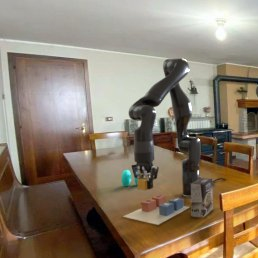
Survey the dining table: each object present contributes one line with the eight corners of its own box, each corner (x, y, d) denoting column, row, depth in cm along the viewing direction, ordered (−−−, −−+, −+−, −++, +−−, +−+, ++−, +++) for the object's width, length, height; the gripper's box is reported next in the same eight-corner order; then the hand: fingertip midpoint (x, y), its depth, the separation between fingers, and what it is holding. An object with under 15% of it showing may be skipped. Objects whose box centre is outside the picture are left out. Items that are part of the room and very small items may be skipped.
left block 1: (149, 207, 121) (149, 198, 120) (156, 208, 119) (155, 199, 119) (141, 210, 117) (141, 201, 116) (148, 212, 115) (148, 203, 115)
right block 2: (176, 205, 123) (176, 197, 122) (183, 207, 121) (183, 198, 121) (169, 209, 119) (169, 200, 118) (176, 210, 117) (176, 201, 117)
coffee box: (203, 218, 111) (203, 184, 109) (190, 217, 112) (190, 183, 110) (213, 210, 120) (212, 178, 118) (201, 209, 121) (200, 177, 119)
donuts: (140, 187, 150) (139, 171, 149) (121, 188, 147) (120, 172, 146) (144, 182, 159) (143, 167, 158) (126, 183, 156) (125, 168, 155)
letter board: (157, 201, 129) (157, 200, 128) (189, 208, 122) (189, 207, 122) (122, 217, 111) (122, 216, 111) (158, 226, 104) (158, 224, 104)
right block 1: (166, 210, 117) (166, 201, 117) (174, 212, 116) (173, 203, 115) (159, 214, 113) (158, 205, 113) (166, 216, 112) (166, 206, 111)
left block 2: (159, 202, 126) (159, 194, 126) (166, 203, 125) (165, 195, 124) (152, 205, 122) (151, 197, 122) (159, 207, 121) (158, 198, 120)
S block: (146, 186, 112) (146, 176, 111) (153, 187, 110) (153, 177, 110) (137, 189, 108) (137, 179, 107) (145, 190, 106) (144, 180, 106)
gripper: (163, 150, 108) (165, 187, 110) (140, 147, 113) (141, 183, 115) (148, 153, 101) (150, 193, 103) (124, 150, 106) (126, 188, 108)
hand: (145, 187), depth 109 cm, fingers closed on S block, 4 cm apart
